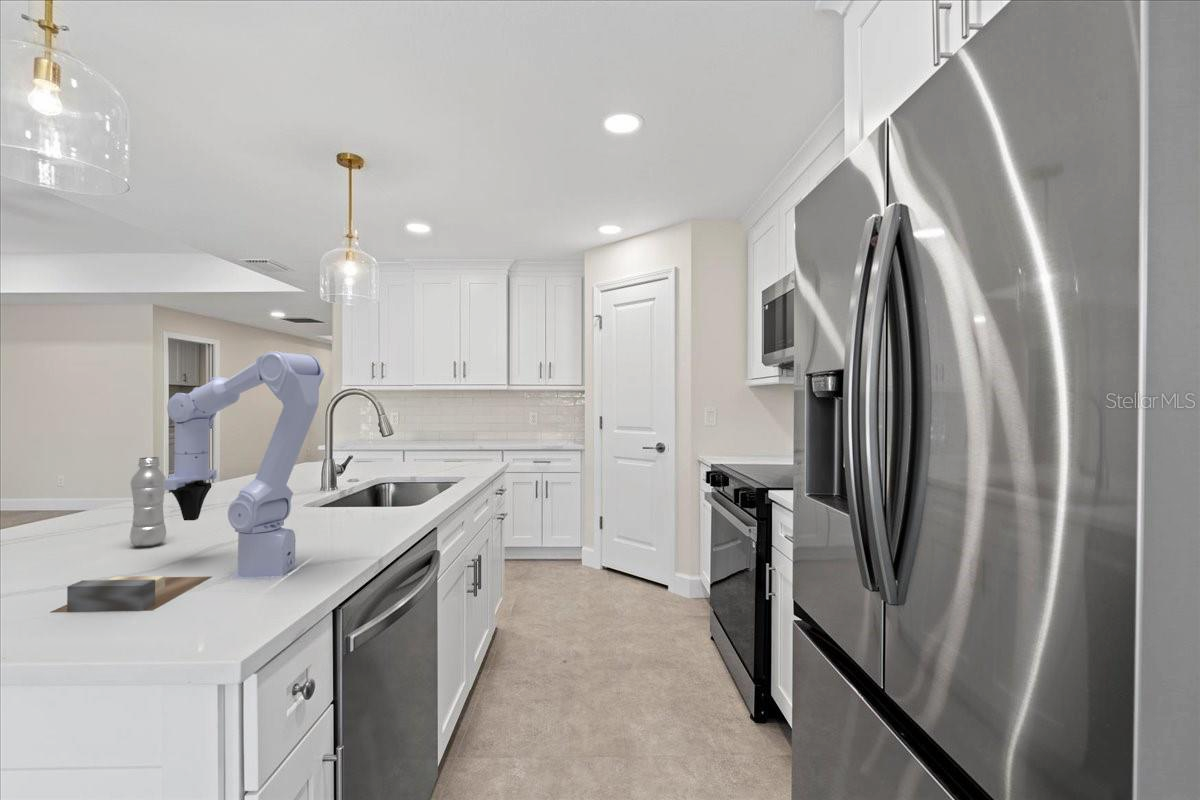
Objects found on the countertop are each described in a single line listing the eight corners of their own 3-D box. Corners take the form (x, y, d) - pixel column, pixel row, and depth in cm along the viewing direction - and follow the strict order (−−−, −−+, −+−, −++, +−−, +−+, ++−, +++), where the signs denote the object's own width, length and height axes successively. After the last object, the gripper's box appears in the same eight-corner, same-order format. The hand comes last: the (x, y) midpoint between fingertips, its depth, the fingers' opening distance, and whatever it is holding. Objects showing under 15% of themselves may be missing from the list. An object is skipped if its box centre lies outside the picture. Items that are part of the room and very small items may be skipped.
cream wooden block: (164, 593, 99) (165, 576, 99) (145, 603, 94) (145, 585, 94) (114, 594, 99) (115, 576, 99) (92, 604, 94) (92, 586, 94)
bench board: (212, 579, 109) (212, 555, 109) (152, 614, 92) (152, 585, 92) (126, 580, 107) (127, 556, 107) (49, 616, 90) (50, 586, 90)
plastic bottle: (173, 542, 134) (174, 456, 134) (151, 549, 127) (152, 459, 127) (144, 541, 134) (146, 456, 134) (121, 549, 127) (122, 459, 127)
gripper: (192, 449, 123) (191, 512, 123) (146, 456, 109) (145, 528, 109) (227, 449, 124) (226, 512, 124) (186, 456, 110) (185, 528, 110)
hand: (191, 519), depth 117 cm, fingers closed
